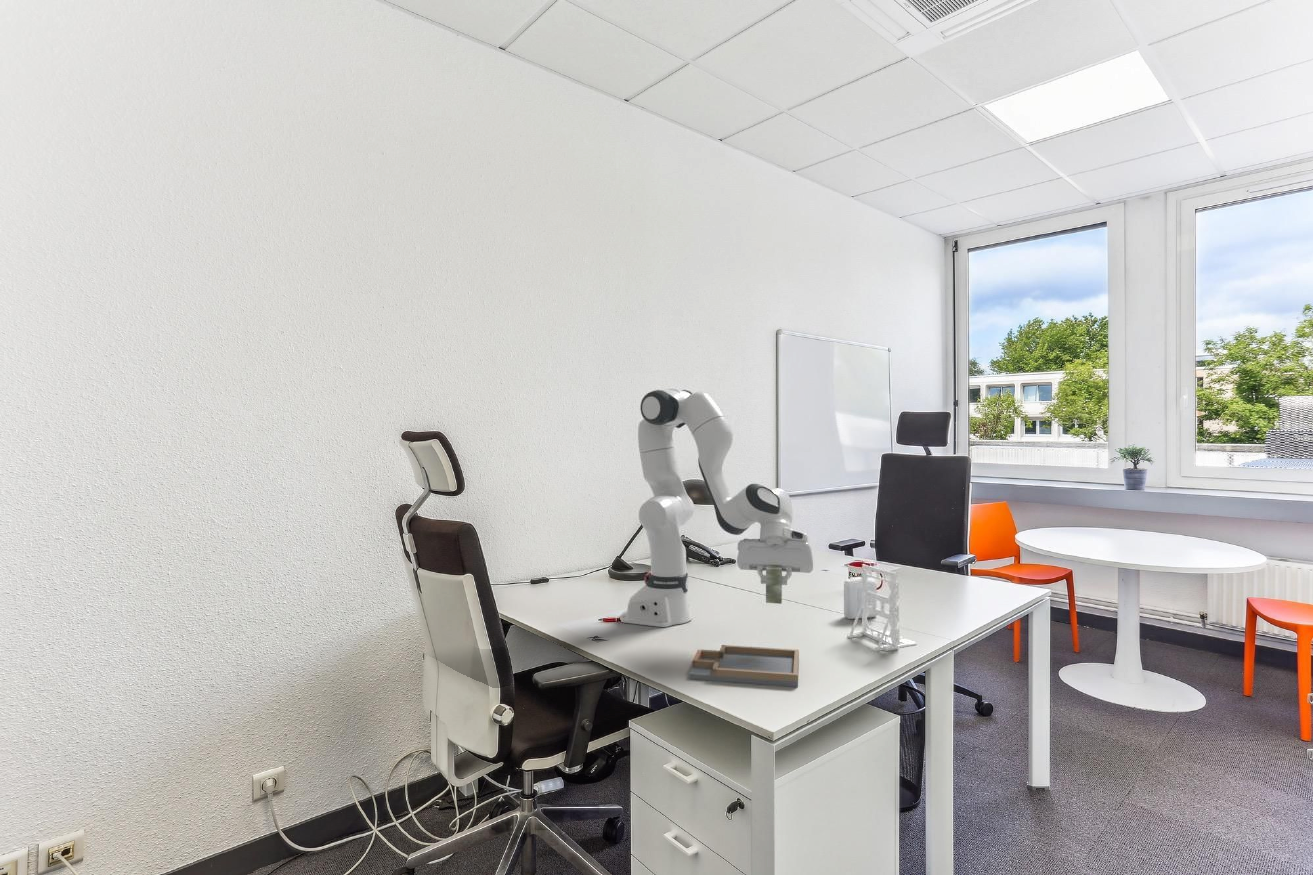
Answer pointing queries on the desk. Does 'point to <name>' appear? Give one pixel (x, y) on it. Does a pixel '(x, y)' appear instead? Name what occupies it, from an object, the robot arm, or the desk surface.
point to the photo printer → (857, 596)
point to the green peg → (774, 584)
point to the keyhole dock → (747, 665)
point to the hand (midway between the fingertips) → (773, 583)
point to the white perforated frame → (881, 612)
